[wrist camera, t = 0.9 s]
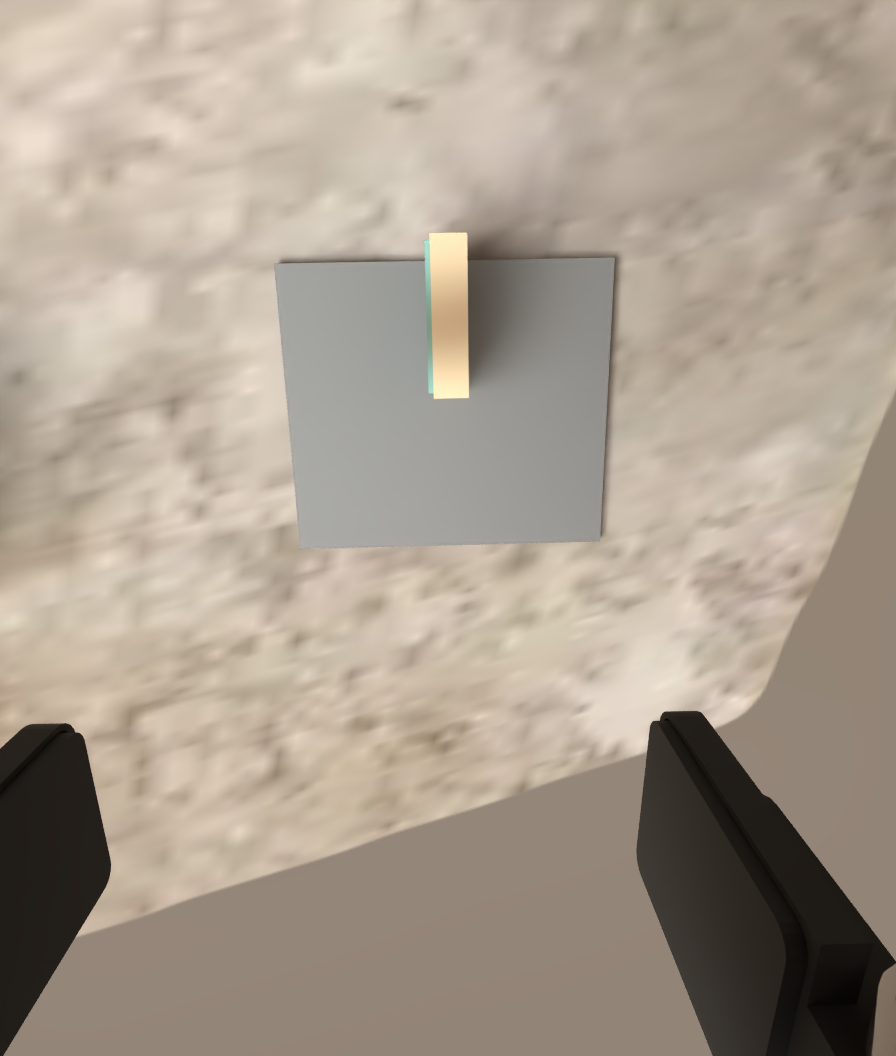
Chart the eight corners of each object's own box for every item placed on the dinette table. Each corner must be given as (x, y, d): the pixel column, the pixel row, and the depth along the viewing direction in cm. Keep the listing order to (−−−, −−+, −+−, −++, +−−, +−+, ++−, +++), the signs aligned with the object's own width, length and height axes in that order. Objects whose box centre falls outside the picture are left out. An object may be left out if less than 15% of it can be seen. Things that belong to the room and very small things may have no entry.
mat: (277, 265, 28) (274, 263, 27) (610, 259, 28) (614, 257, 28) (303, 545, 32) (300, 549, 31) (597, 538, 32) (599, 541, 31)
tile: (426, 260, 27) (423, 233, 22) (460, 260, 28) (467, 232, 22) (429, 392, 29) (428, 398, 23) (461, 391, 29) (469, 397, 23)
